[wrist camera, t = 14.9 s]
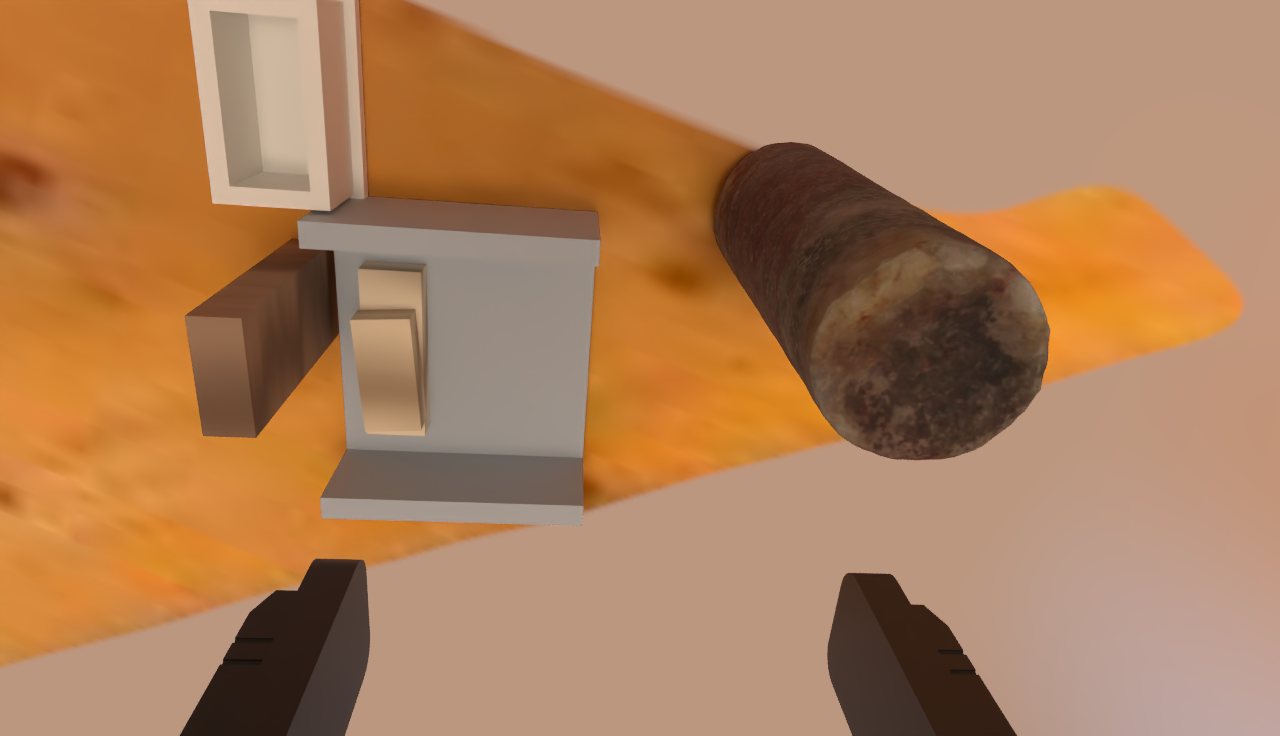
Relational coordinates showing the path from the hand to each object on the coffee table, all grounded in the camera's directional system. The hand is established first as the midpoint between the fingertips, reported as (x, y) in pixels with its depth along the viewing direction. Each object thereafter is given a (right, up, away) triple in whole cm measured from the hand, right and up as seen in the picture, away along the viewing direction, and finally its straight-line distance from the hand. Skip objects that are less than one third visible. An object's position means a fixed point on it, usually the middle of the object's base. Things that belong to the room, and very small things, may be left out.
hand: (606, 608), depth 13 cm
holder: (-16, +17, +24) cm, 34 cm away
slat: (-16, +8, +28) cm, 33 cm away
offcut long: (-12, +5, +28) cm, 31 cm away
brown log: (+8, +12, +28) cm, 32 cm away
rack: (-9, +5, +30) cm, 31 cm away
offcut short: (-12, +4, +27) cm, 30 cm away
